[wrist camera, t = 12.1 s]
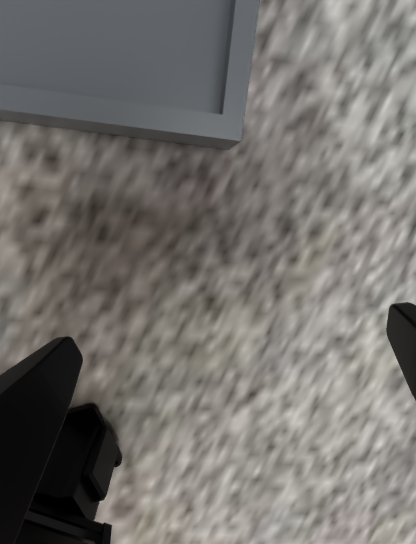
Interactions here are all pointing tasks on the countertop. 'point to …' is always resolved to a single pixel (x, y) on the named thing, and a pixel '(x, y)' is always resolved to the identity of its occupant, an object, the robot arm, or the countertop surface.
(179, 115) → the charcoal box
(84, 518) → the robot arm
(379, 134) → the countertop surface
